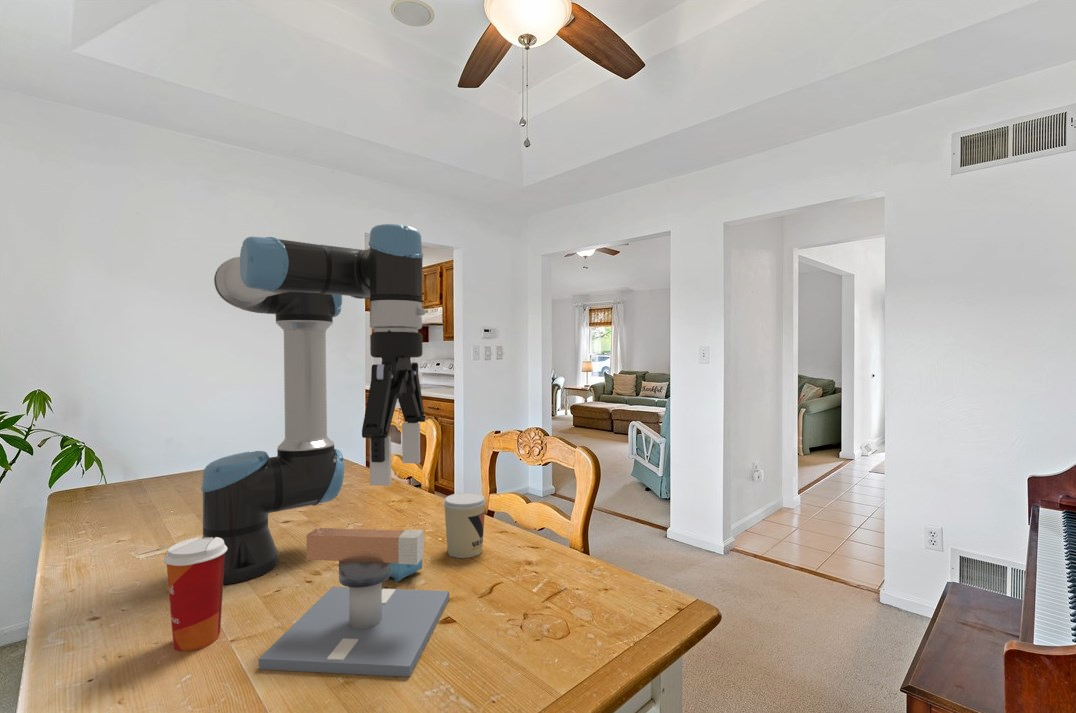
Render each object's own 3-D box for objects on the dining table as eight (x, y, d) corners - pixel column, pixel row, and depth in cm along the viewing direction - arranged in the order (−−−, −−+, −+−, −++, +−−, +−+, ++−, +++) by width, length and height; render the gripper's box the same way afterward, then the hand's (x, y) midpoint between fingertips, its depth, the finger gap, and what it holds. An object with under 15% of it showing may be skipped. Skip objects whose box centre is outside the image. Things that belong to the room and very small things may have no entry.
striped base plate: (258, 669, 72) (258, 609, 72) (332, 594, 94) (332, 549, 94) (409, 677, 71) (409, 616, 70) (449, 599, 93) (449, 552, 92)
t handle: (298, 585, 79) (298, 540, 79) (324, 563, 87) (323, 522, 87) (412, 589, 78) (412, 543, 78) (427, 567, 86) (427, 525, 85)
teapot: (434, 576, 102) (434, 539, 102) (412, 588, 97) (412, 549, 97) (392, 563, 108) (392, 528, 108) (369, 574, 103) (369, 537, 103)
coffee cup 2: (478, 561, 109) (478, 505, 109) (437, 557, 111) (437, 502, 111) (490, 544, 118) (490, 493, 118) (452, 541, 120) (452, 491, 120)
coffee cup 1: (185, 627, 83) (184, 536, 83) (238, 624, 84) (237, 534, 84) (150, 658, 75) (149, 557, 75) (209, 655, 76) (208, 555, 75)
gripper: (392, 327, 63) (393, 497, 64) (442, 333, 88) (442, 455, 88) (333, 327, 64) (334, 496, 64) (399, 334, 89) (400, 455, 89)
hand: (397, 473), depth 76 cm, fingers open, 13 cm apart
